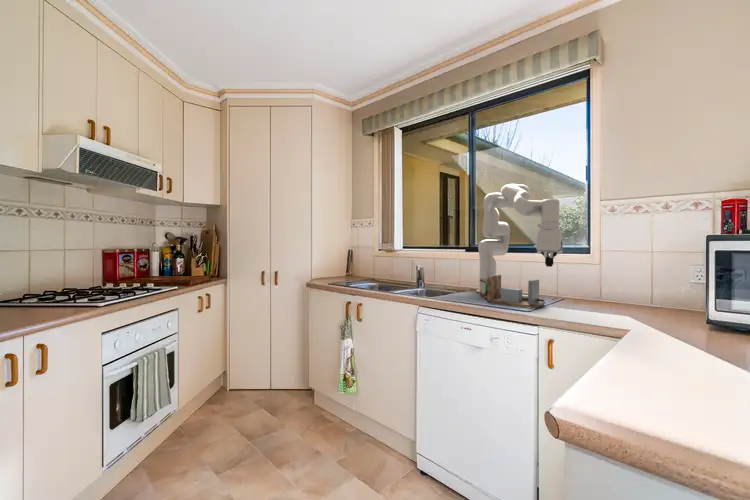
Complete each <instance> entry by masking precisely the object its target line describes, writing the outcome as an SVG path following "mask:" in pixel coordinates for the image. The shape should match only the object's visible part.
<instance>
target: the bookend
mask: <svg viewBox="0 0 750 500" xmlns="http://www.w3.org/2000/svg"><path fill="white" fill-rule="evenodd" d="M527 283H528V285H527V286H528V289H527V291H528V293H527V295H528V296H527V297H528V304H531V305H541V304H544V305H545V304H546V301H545V300H544V301H539V299H540V279H538V278H537V279H536V278H535V279H529V280H528V282H527Z"/></svg>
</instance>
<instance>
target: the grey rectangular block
mask: <svg viewBox="0 0 750 500" xmlns="http://www.w3.org/2000/svg"><path fill="white" fill-rule="evenodd" d="M522 297H523V289H521V288H511V287H501V300H503V301H510V302H518V303H519V302H522Z"/></svg>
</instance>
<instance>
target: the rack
mask: <svg viewBox="0 0 750 500" xmlns="http://www.w3.org/2000/svg"><path fill="white" fill-rule="evenodd" d="M501 288H502V274H496V275H495V276H488V294H487V299H486V301H487V303H488V304H489V303H491V304H498V305H505V306H512V307H518V306H520V307H519V308H525V307H531V308H530V309H532V308H535V309H537V308H536V307H538V308H540V307H539V306H542V305H544V306H545V303H544V304H541V305H531V304H528V296H522V302H519V303H518V302H510V301H503V300H501ZM539 301H545V299H544V298H539ZM542 307H543V306H542Z"/></svg>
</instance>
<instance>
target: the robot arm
mask: <svg viewBox="0 0 750 500" xmlns="http://www.w3.org/2000/svg"><path fill="white" fill-rule="evenodd" d="M530 198H531V197H530V189H529V187H528V186H527V185H525V184H523V183H522V184H520V183H519V184H517V183H509V184H505V185H503V187H501V190H500V192H491V193H488V194H487V195H485V197H484V198H483V199H484V200H483V204H482V205H483V214H484V215H483V223H482V224H483V225H482V235H483V237H486V238H491V239H482V240H481V241H480V242H479V243H478V245H477V247H478V248H477V249H478V256H479V257H478V258H479V281H480V278H482V279H488V276H495V275H497V262H496V259H495V258H494V256H499V257H500V256H505V255H506V254H507V252H508V251H509V244H510V237H511V227H510V225H509V224H508V223H507V222H505V221H499V220H500V213H499V211H498V209H513V208H514V211H516V212H517V213H518V214H519V215H521V216H524V217H539V218H540V223H538V224H537V228H540V229H538V232H537V236H536V237H537V238H536V245H535V247H536V253H537V254H539V255H542V257H544V259H545V260H544V261H545V262H544V263H545V266H546V267H549V268H551V267H552V268H553V265H554V259H555V257H556V256H557V255H562V254H563V253H564V252H563V247H564V246H563V235H562V234H563V233H562V230H561V229H560V200H559V199H556V198H546V199H545V198H544V199H542V200H535V199H534V200H532V199H531V200H530ZM497 208H498V209H497ZM495 238H496V239H495ZM478 284H479V285H478V287H479V288H478V289H476V292H477V293H480V282H479V283H478Z"/></svg>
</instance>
